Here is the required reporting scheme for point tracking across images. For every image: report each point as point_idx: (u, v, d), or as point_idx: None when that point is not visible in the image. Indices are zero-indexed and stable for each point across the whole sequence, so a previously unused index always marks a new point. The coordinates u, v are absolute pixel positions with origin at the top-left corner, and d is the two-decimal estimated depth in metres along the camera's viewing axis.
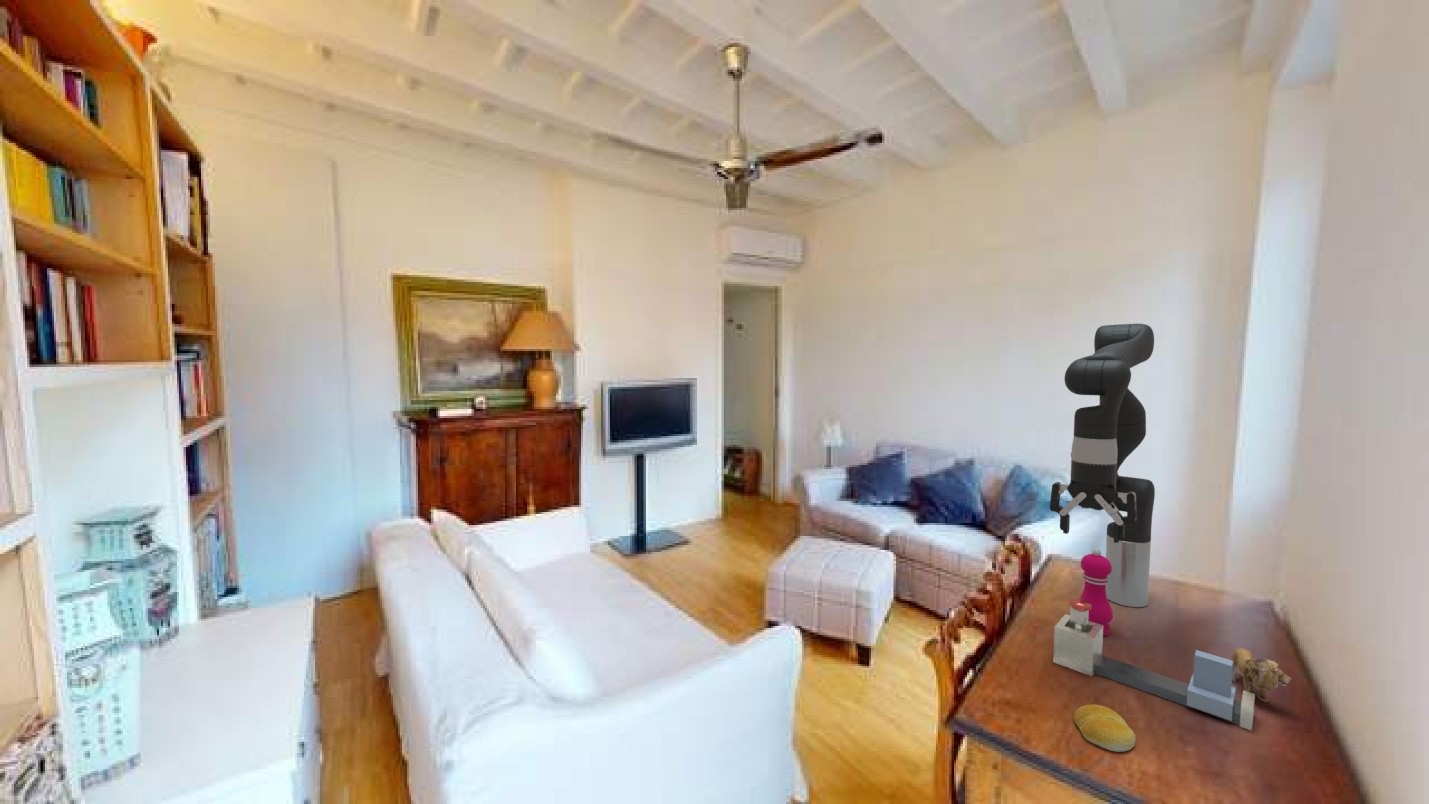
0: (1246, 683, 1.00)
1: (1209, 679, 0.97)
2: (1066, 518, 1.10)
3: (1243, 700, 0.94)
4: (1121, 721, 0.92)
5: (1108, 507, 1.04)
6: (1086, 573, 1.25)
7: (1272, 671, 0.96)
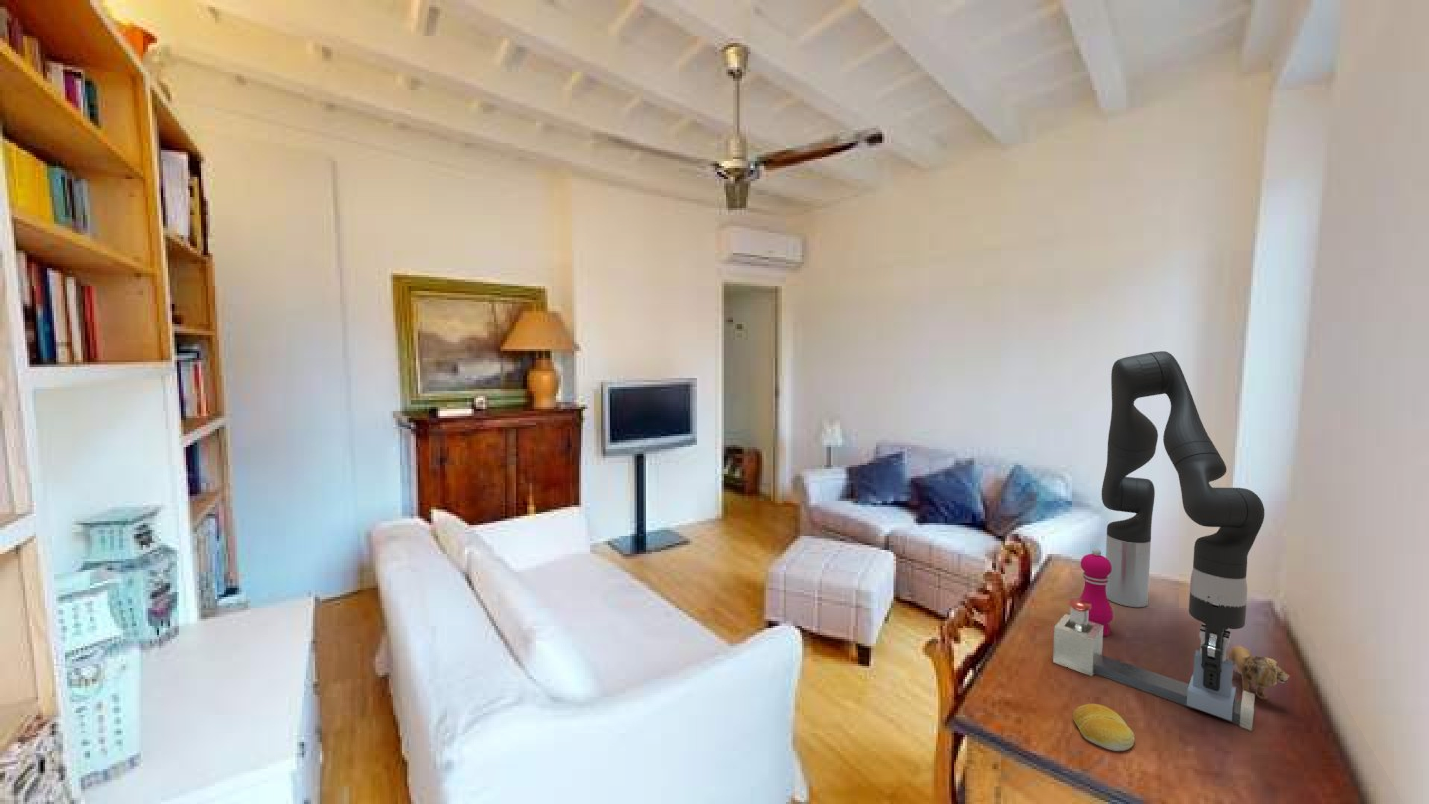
0: (1245, 681, 1.01)
1: None
2: (1220, 673, 0.96)
3: (1243, 700, 0.94)
4: (1120, 720, 0.92)
5: None
6: (1086, 573, 1.25)
7: (1271, 669, 0.97)
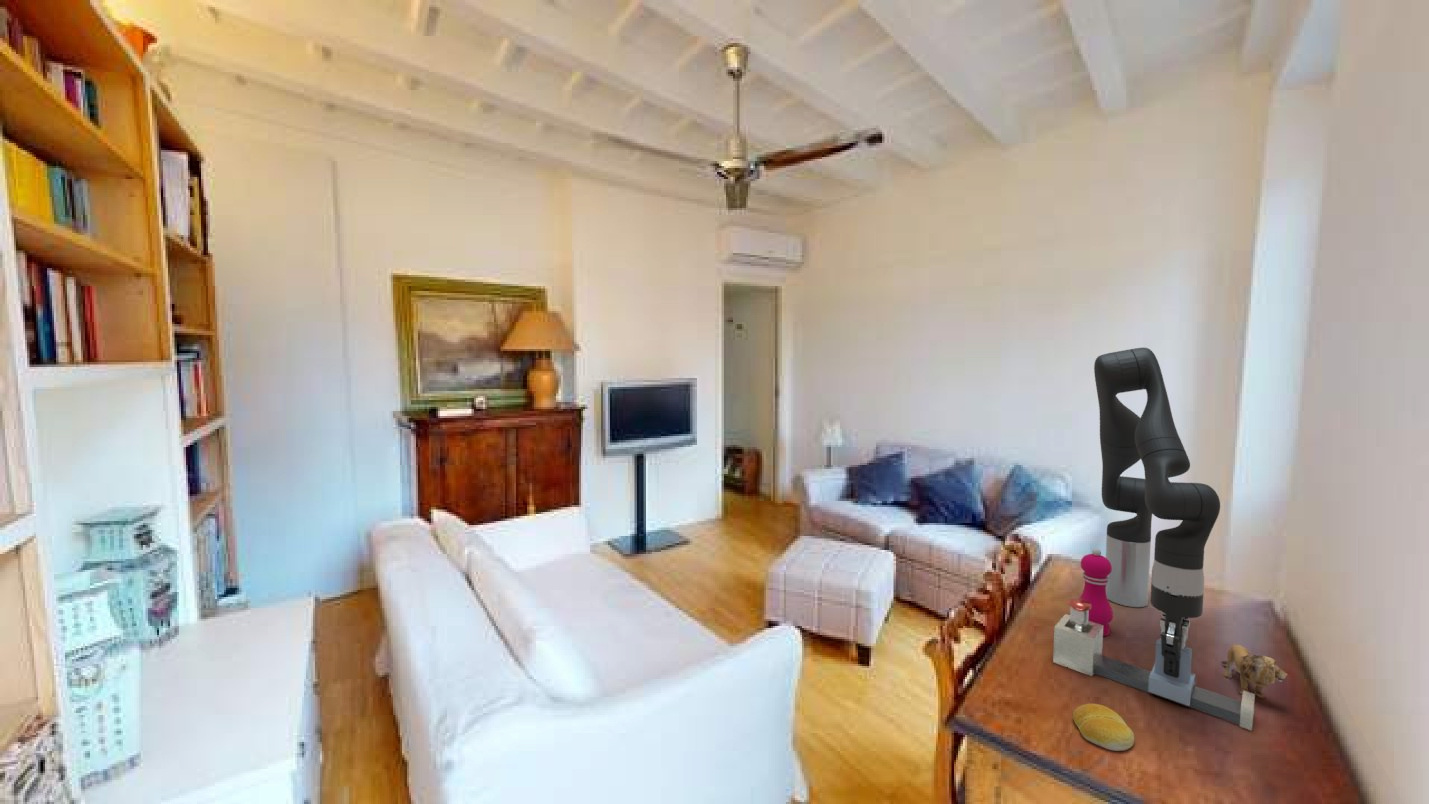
0: (1243, 679, 1.02)
1: None
2: (1179, 660, 1.00)
3: (1243, 700, 0.94)
4: (1120, 720, 0.92)
5: (1187, 634, 1.01)
6: (1086, 573, 1.25)
7: (1269, 667, 0.98)
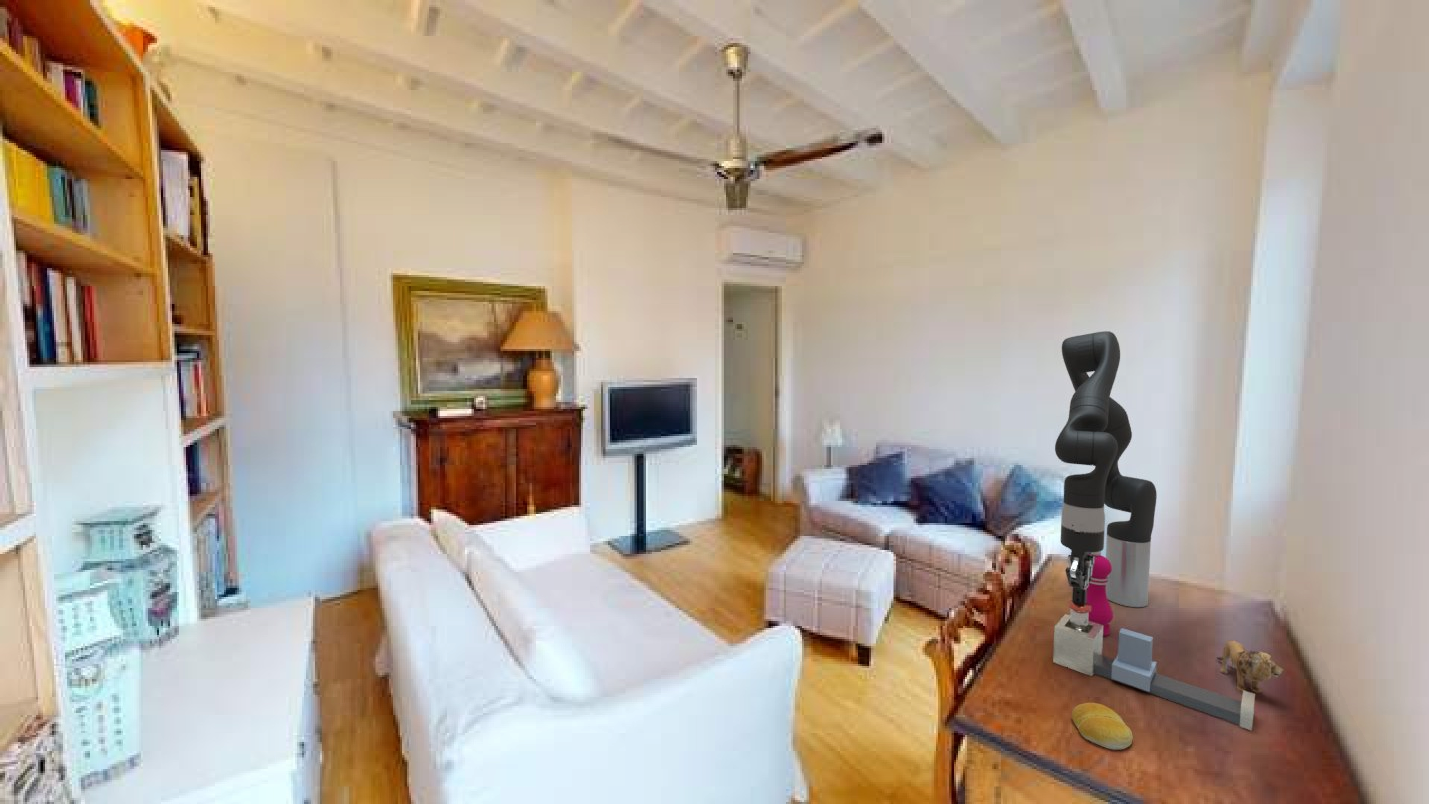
0: (1239, 675, 1.03)
1: (1131, 655, 1.06)
2: (1085, 590, 1.11)
3: (1243, 700, 0.94)
4: (1118, 719, 0.92)
5: (1091, 570, 1.12)
6: None
7: (1265, 663, 0.99)
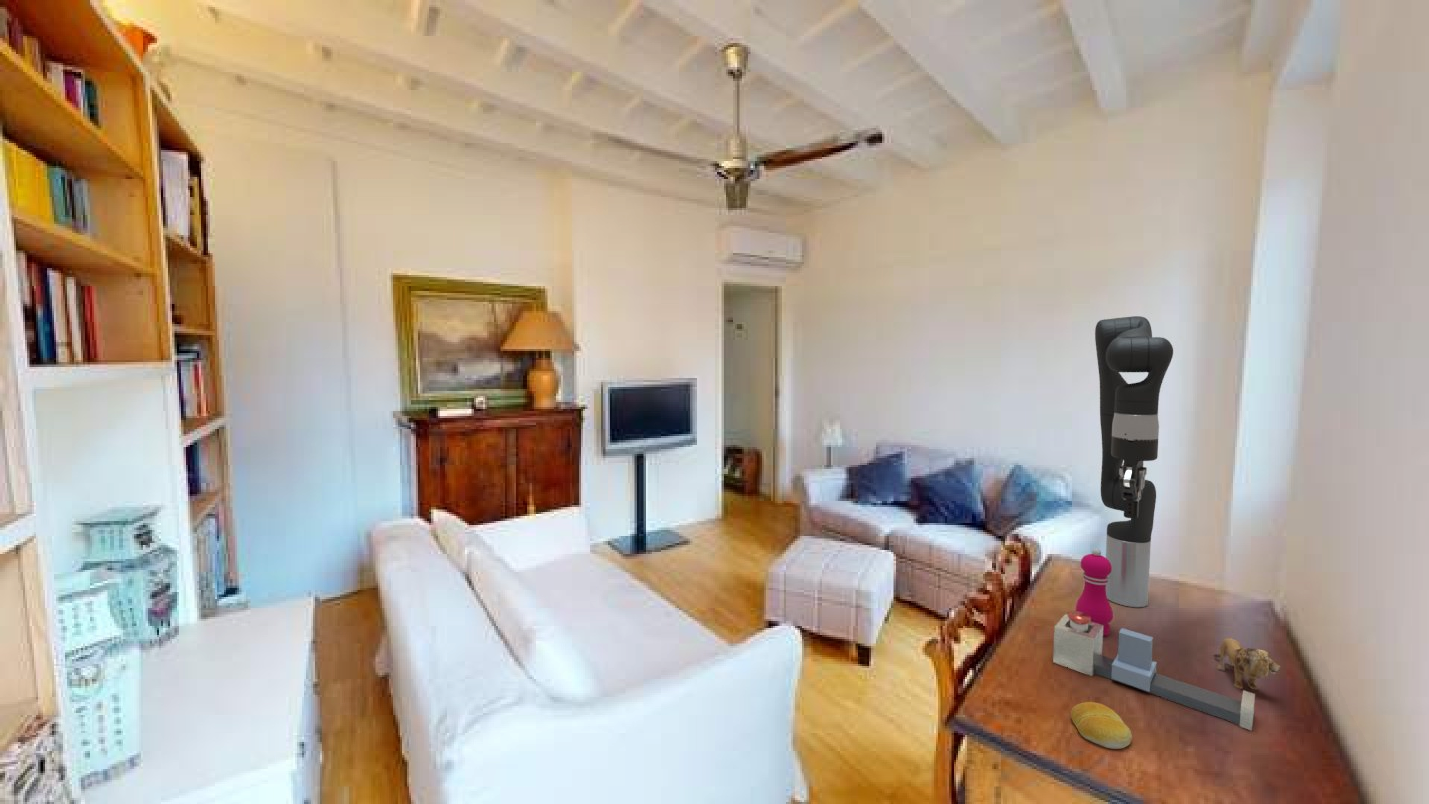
0: (1237, 672, 1.04)
1: (1131, 655, 1.06)
2: (1138, 502, 1.09)
3: (1243, 700, 0.94)
4: (1117, 718, 0.93)
5: (1144, 481, 1.09)
6: (1086, 573, 1.25)
7: (1263, 660, 1.00)
